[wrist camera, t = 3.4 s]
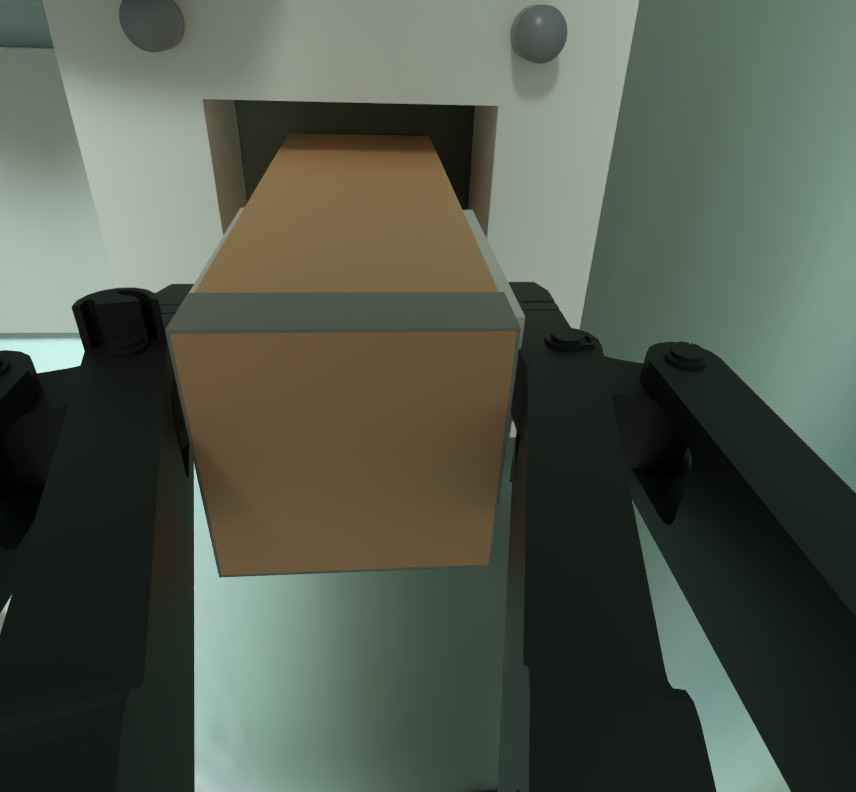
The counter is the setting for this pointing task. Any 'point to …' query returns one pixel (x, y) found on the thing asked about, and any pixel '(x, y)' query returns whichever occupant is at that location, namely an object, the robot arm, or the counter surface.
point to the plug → (348, 368)
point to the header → (343, 82)
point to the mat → (43, 201)
